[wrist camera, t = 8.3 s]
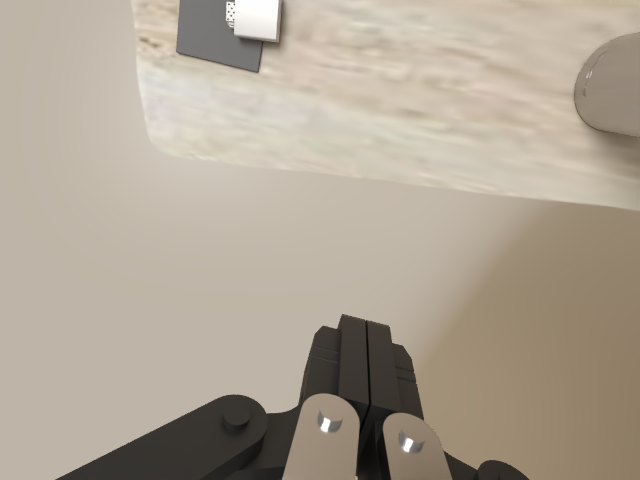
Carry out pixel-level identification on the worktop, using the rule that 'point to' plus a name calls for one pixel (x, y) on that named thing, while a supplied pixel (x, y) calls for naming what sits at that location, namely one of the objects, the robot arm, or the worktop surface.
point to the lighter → (255, 19)
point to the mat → (214, 35)
